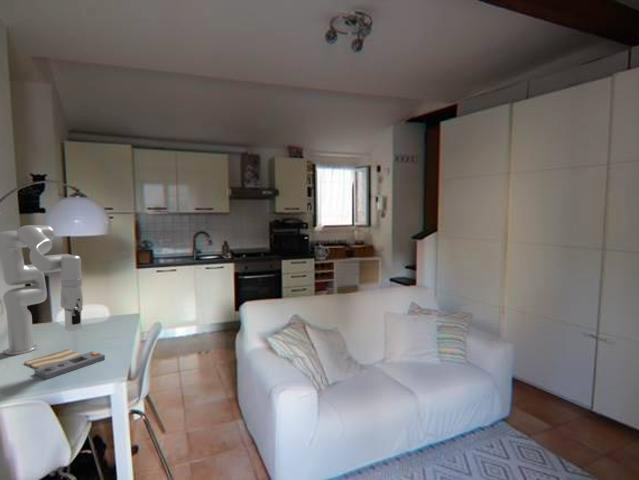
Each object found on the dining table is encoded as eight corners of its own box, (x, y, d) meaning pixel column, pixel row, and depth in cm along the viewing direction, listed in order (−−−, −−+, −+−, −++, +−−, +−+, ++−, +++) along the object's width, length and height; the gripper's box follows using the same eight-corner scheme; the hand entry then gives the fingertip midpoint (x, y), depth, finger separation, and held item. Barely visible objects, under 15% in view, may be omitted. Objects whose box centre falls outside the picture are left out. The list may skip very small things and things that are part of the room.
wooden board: (24, 363, 167) (24, 361, 167) (67, 350, 183) (67, 349, 182) (39, 370, 160) (39, 368, 160) (82, 356, 176) (82, 354, 176)
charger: (65, 329, 165) (64, 308, 165) (76, 326, 169) (75, 306, 169) (70, 331, 163) (69, 310, 162) (81, 328, 167) (80, 307, 166)
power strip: (34, 374, 156) (34, 368, 156) (92, 355, 177) (92, 350, 177) (46, 379, 151) (46, 373, 151) (104, 359, 172) (104, 354, 172)
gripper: (52, 282, 166) (54, 322, 167) (72, 286, 157) (74, 328, 158) (70, 280, 172) (72, 318, 173) (90, 283, 164) (92, 323, 165)
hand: (73, 322), depth 166 cm, fingers closed on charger, 4 cm apart
